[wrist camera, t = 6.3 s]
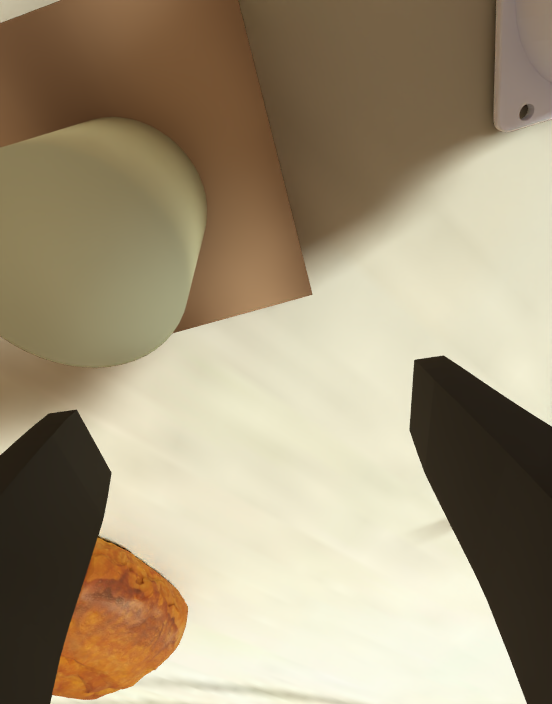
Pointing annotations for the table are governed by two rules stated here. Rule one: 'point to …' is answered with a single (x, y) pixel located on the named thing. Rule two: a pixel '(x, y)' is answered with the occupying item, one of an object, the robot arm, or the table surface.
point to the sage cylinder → (97, 241)
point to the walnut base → (169, 125)
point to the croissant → (118, 626)
